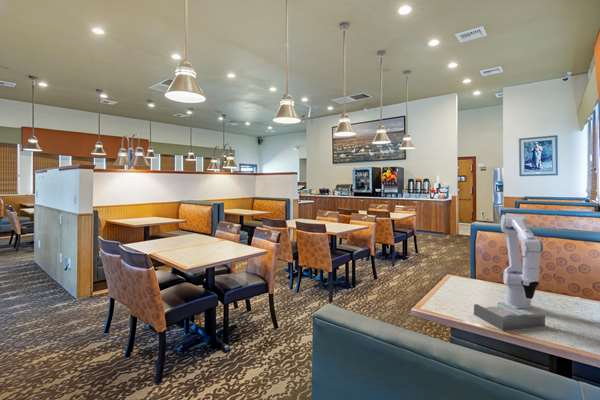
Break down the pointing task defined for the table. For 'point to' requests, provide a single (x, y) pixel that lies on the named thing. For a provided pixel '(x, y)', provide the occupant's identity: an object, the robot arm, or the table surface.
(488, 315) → the frame
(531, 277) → the robot arm
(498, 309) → the stone block
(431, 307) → the table surface
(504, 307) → the sliding jaw
